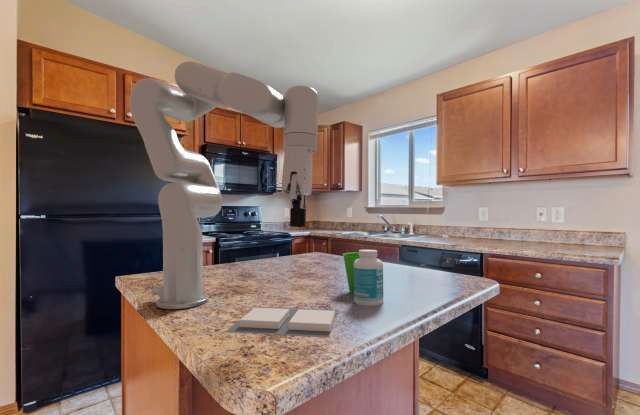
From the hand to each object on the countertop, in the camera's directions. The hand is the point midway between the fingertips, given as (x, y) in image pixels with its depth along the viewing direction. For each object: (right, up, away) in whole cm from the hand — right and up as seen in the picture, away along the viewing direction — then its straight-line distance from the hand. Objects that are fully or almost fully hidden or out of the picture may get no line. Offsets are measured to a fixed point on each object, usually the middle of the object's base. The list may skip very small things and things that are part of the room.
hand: (297, 226), depth 69 cm
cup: (+16, -21, +21) cm, 33 cm away
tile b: (+4, -19, -2) cm, 19 cm away
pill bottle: (+17, -20, +9) cm, 28 cm away
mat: (-2, -20, -4) cm, 21 cm away
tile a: (-6, -19, -1) cm, 20 cm away
